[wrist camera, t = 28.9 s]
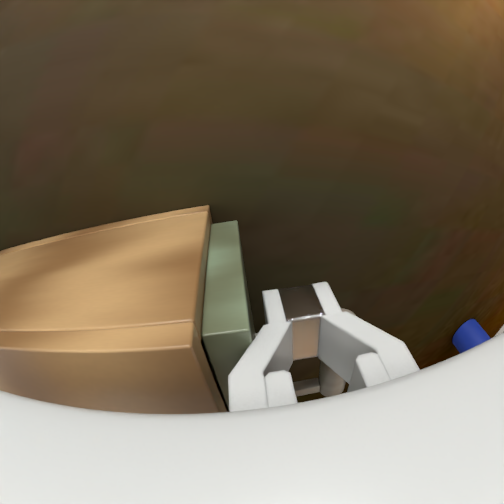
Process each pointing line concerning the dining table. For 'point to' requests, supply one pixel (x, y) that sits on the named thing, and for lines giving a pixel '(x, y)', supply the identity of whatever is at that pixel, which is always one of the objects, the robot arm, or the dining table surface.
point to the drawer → (239, 315)
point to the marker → (469, 336)
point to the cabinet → (110, 317)
